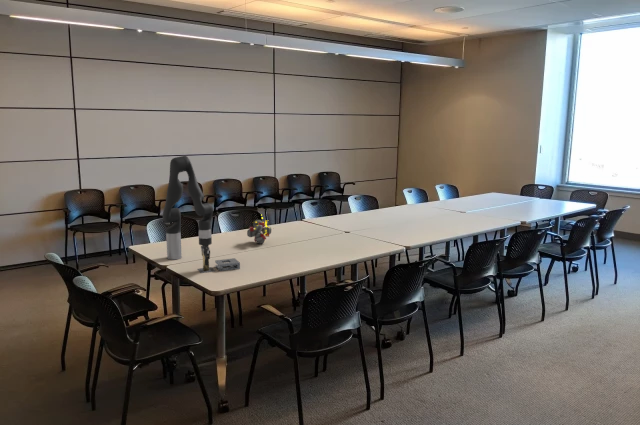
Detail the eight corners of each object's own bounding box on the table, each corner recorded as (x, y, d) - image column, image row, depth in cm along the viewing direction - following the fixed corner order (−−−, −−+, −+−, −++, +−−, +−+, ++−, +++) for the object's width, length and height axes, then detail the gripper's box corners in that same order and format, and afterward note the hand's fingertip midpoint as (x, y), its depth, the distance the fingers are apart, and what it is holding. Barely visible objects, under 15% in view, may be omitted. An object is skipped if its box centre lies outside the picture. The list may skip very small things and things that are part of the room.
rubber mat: (196, 269, 307) (196, 268, 307) (211, 267, 311) (211, 267, 311) (200, 273, 299) (200, 273, 298) (215, 272, 302) (215, 271, 302)
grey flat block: (215, 267, 313) (215, 260, 312) (234, 264, 318) (234, 258, 317) (219, 271, 303) (219, 264, 302) (240, 269, 308) (239, 262, 308)
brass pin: (202, 269, 306) (201, 252, 304) (208, 269, 307) (207, 251, 305) (203, 271, 302) (203, 253, 301) (209, 270, 304) (209, 252, 302)
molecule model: (276, 246, 365) (276, 216, 361) (247, 248, 360) (247, 217, 356) (271, 239, 389) (271, 210, 385) (244, 240, 384) (243, 211, 380)
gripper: (196, 234, 306) (197, 262, 309) (201, 239, 293) (202, 268, 296) (208, 233, 309) (209, 260, 312) (214, 238, 297) (215, 266, 300)
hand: (206, 264), depth 304 cm, fingers closed on brass pin, 3 cm apart
